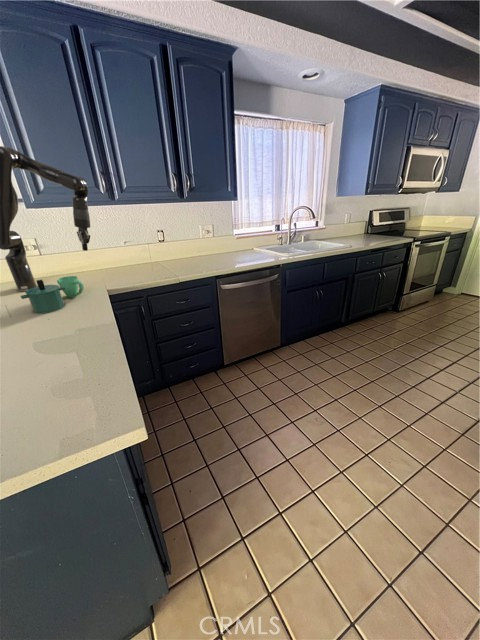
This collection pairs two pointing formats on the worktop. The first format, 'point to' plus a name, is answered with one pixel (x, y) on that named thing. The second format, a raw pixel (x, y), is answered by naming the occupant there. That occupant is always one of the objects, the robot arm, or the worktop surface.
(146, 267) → the worktop surface
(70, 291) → the mug
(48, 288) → the pot lid
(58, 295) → the pot
